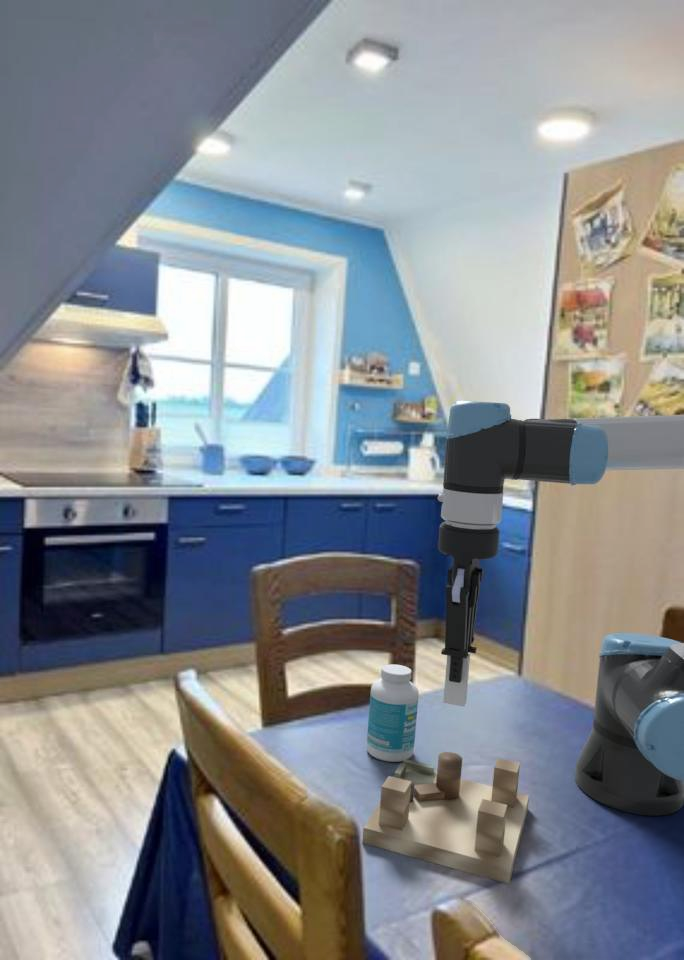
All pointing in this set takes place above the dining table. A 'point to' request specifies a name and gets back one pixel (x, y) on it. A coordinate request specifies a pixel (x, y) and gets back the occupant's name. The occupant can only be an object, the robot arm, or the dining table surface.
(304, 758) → the dining table surface
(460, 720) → the dining table surface
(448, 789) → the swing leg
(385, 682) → the pill bottle
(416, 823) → the stool seat
